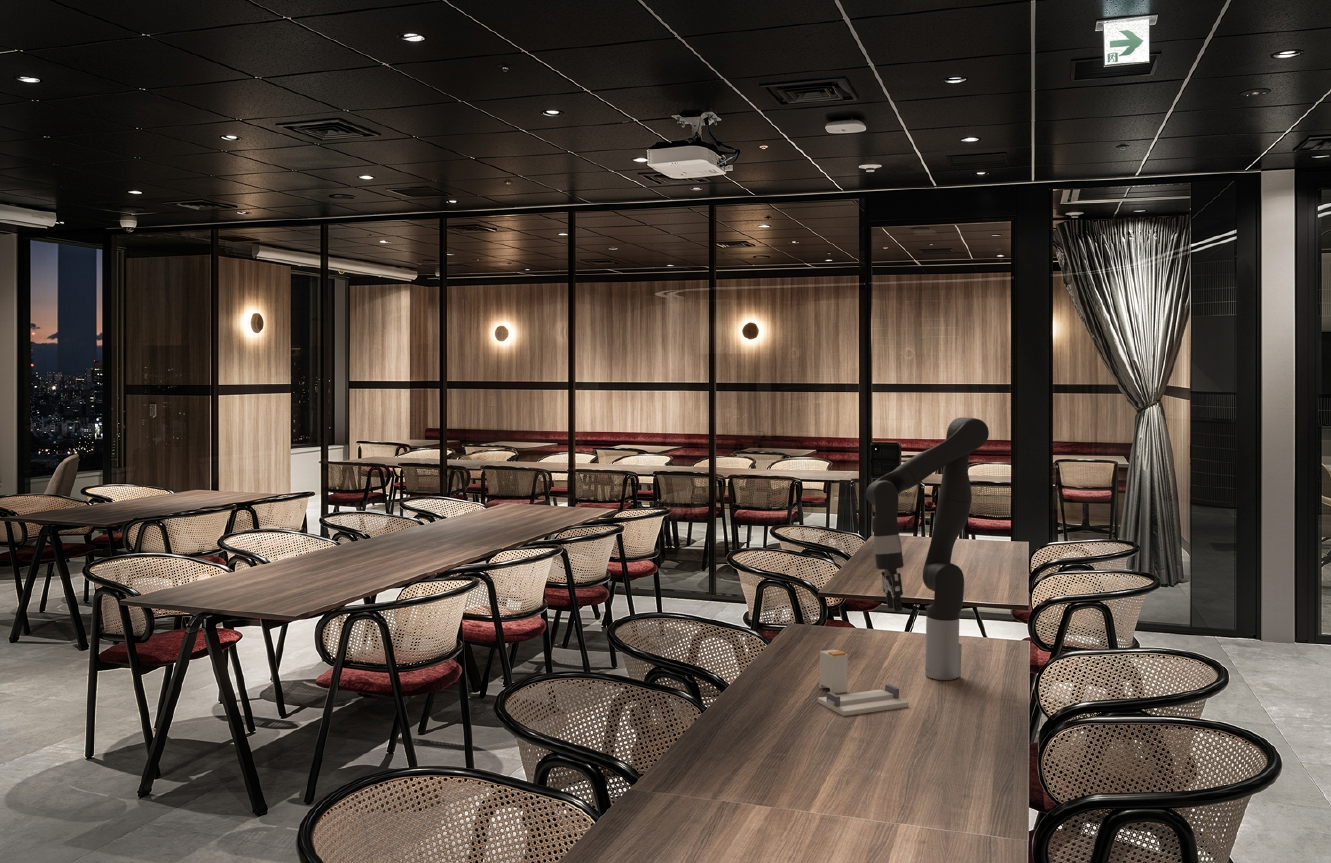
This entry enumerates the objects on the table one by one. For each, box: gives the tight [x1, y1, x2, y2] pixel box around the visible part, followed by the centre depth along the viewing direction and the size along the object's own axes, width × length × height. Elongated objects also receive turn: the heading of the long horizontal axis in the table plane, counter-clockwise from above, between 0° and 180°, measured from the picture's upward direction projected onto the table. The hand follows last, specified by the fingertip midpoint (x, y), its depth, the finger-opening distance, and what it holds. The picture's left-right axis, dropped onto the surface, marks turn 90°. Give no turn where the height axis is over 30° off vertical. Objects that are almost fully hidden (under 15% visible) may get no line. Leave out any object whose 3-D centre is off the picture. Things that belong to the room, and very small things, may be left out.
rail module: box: [818, 649, 849, 694], centre depth 277 cm, size 5×6×11 cm
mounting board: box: [817, 683, 910, 717], centre depth 264 cm, size 20×12×4 cm, turn 114°
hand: (894, 609), depth 283 cm, fingers open, 8 cm apart
